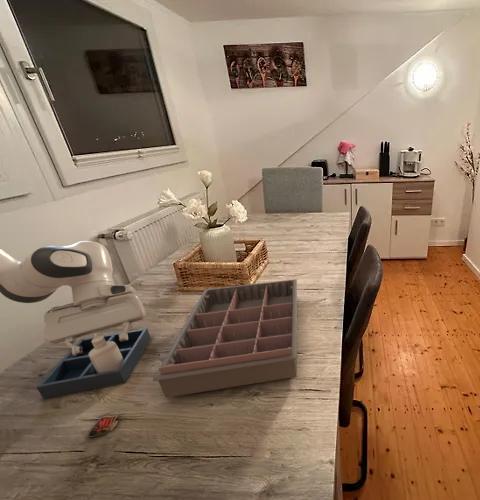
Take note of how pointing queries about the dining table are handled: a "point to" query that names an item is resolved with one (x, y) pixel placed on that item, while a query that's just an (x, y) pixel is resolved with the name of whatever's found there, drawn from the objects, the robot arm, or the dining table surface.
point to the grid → (84, 373)
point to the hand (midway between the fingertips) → (101, 347)
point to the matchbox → (103, 425)
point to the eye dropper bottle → (105, 355)
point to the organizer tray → (234, 339)
